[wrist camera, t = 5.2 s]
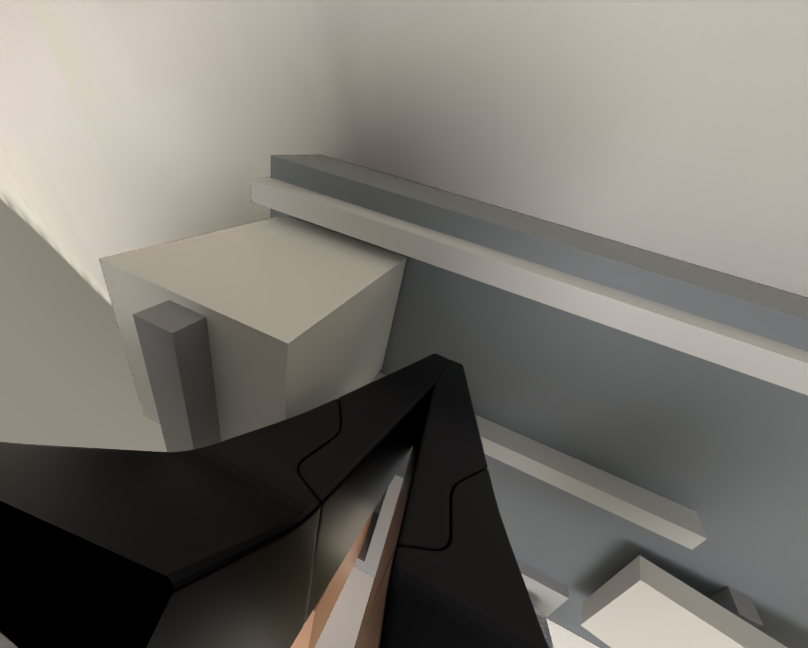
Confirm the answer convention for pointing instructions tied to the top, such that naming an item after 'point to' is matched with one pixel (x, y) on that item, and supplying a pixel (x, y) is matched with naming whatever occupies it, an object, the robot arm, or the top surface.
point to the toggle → (543, 625)
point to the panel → (596, 393)
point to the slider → (250, 324)
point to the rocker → (663, 614)
